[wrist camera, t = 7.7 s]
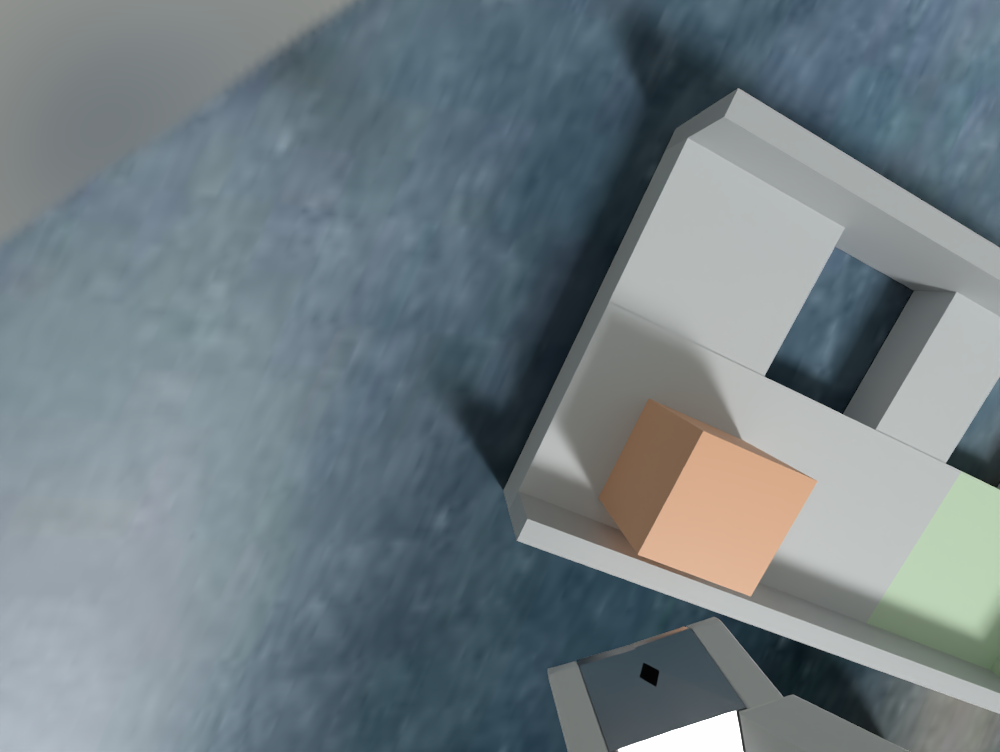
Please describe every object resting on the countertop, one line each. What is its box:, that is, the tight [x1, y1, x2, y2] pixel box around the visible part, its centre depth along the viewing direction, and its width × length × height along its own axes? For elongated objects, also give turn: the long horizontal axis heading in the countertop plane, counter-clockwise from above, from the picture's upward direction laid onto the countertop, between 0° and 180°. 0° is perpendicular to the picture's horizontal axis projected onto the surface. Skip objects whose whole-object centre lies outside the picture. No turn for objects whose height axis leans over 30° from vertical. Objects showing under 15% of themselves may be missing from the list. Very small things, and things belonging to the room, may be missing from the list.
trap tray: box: [503, 88, 1000, 714], centre depth 22 cm, size 30×18×4 cm, turn 65°
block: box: [598, 399, 817, 597], centre depth 19 cm, size 5×5×4 cm
